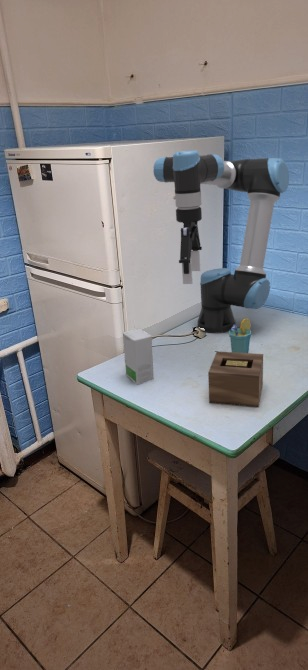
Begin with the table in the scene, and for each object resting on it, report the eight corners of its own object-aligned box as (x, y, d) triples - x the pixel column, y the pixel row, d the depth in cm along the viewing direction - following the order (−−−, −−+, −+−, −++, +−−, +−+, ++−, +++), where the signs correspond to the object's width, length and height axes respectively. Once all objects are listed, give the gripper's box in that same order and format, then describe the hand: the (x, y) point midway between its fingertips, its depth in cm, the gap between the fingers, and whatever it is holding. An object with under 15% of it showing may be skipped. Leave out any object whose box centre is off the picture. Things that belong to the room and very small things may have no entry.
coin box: (217, 380, 148) (216, 351, 144) (262, 383, 144) (263, 354, 140) (209, 402, 136) (208, 372, 132) (258, 407, 132) (259, 375, 128)
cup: (242, 372, 152) (242, 329, 146) (220, 368, 155) (219, 326, 150) (256, 355, 163) (257, 314, 157) (235, 351, 166) (235, 312, 161)
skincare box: (125, 375, 156) (121, 332, 150) (143, 369, 159) (139, 327, 153) (137, 385, 149) (133, 340, 143) (155, 379, 152) (152, 334, 146)
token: (227, 387, 142) (227, 360, 139) (247, 388, 140) (247, 361, 137) (225, 392, 139) (225, 364, 136) (246, 393, 138) (246, 366, 134)
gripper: (184, 201, 150) (187, 266, 158) (166, 215, 128) (171, 289, 136) (207, 200, 148) (210, 265, 156) (193, 214, 126) (196, 289, 134)
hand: (192, 277), depth 146 cm, fingers open, 13 cm apart
